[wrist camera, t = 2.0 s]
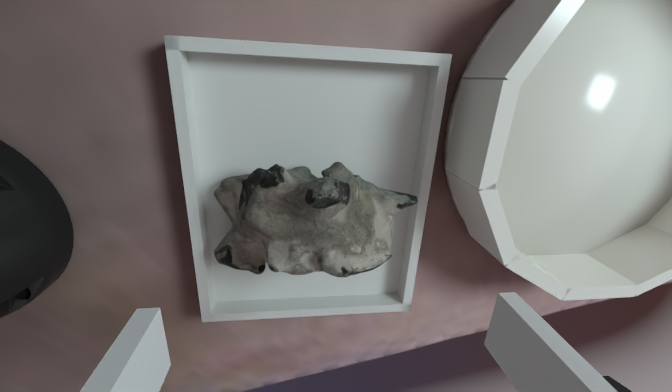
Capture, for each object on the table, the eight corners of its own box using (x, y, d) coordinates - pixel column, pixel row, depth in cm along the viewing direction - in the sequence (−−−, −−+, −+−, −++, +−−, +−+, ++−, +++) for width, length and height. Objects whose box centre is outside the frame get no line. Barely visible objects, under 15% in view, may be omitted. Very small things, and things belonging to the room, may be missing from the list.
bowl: (422, 263, 30) (452, 306, 24) (481, -79, 20) (552, -137, 15) (654, 255, 33) (726, 291, 28) (795, -38, 24) (946, -72, 18)
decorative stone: (237, 287, 26) (198, 363, 17) (200, 185, 25) (134, 203, 15) (412, 230, 28) (472, 270, 18) (385, 130, 26) (434, 113, 16)
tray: (207, 306, 28) (202, 322, 26) (175, 38, 20) (163, 35, 19) (402, 296, 31) (409, 310, 29) (439, 55, 23) (452, 54, 21)
